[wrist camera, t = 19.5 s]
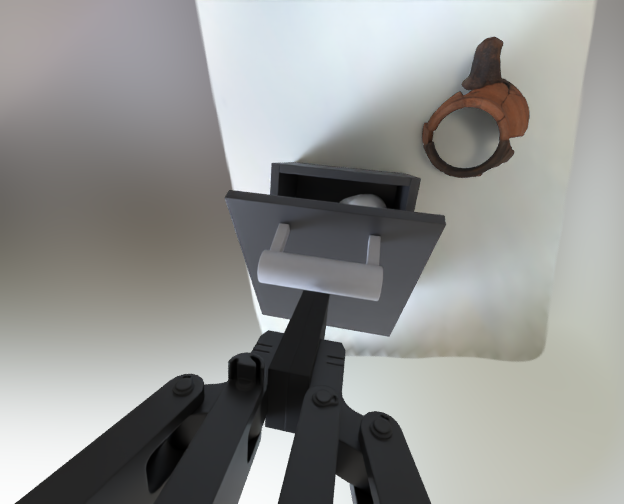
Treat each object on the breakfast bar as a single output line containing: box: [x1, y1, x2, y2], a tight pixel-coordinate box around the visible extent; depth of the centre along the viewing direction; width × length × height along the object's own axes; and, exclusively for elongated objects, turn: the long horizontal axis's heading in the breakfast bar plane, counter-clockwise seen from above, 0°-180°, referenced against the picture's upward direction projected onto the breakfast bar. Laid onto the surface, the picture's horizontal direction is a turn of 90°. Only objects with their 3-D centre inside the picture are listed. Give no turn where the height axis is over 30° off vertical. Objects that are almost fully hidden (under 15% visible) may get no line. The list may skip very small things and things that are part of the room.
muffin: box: [340, 194, 387, 209], centre depth 32 cm, size 6×6×7 cm
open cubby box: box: [270, 162, 421, 212], centre depth 33 cm, size 16×14×9 cm
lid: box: [225, 190, 446, 336], centre depth 23 cm, size 16×14×5 cm
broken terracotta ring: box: [422, 37, 530, 178], centre depth 29 cm, size 12×10×8 cm
